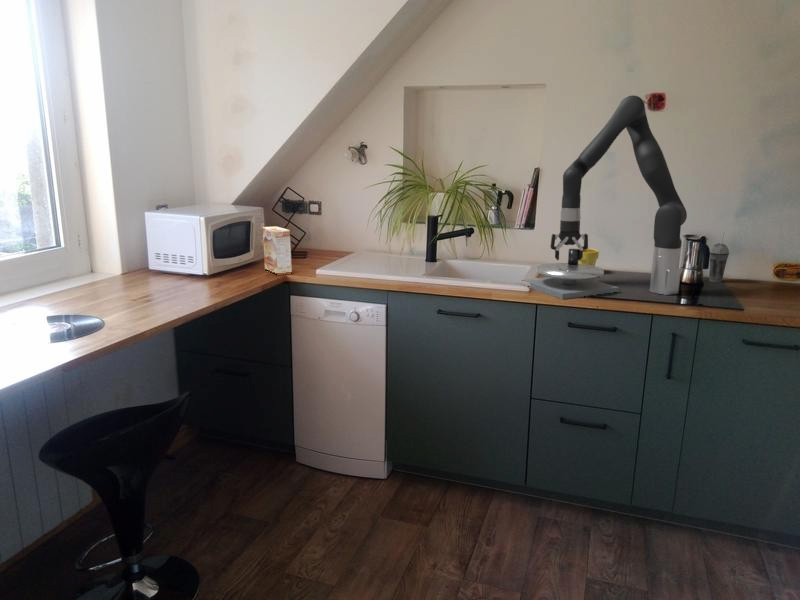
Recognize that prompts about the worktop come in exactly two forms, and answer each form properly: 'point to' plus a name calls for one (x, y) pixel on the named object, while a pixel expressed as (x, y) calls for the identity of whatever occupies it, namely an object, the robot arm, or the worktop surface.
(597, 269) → the handwheel
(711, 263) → the beverage cup
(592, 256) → the plant pot
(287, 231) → the coffeecake box
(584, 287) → the wheel base
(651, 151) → the robot arm
